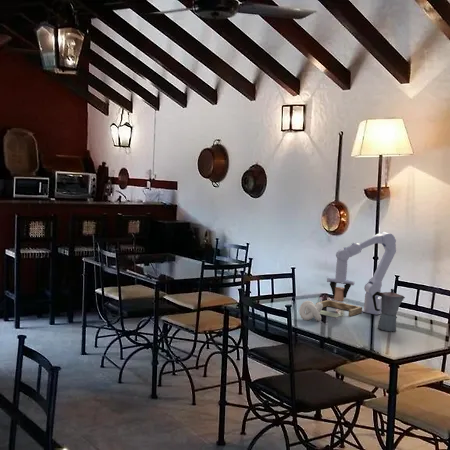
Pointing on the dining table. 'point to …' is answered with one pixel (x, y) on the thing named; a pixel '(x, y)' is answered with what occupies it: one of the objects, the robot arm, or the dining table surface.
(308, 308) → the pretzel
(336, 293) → the terracotta pot
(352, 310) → the tan wooden bent bar
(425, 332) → the dining table surface
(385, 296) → the moka pot
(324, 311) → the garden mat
